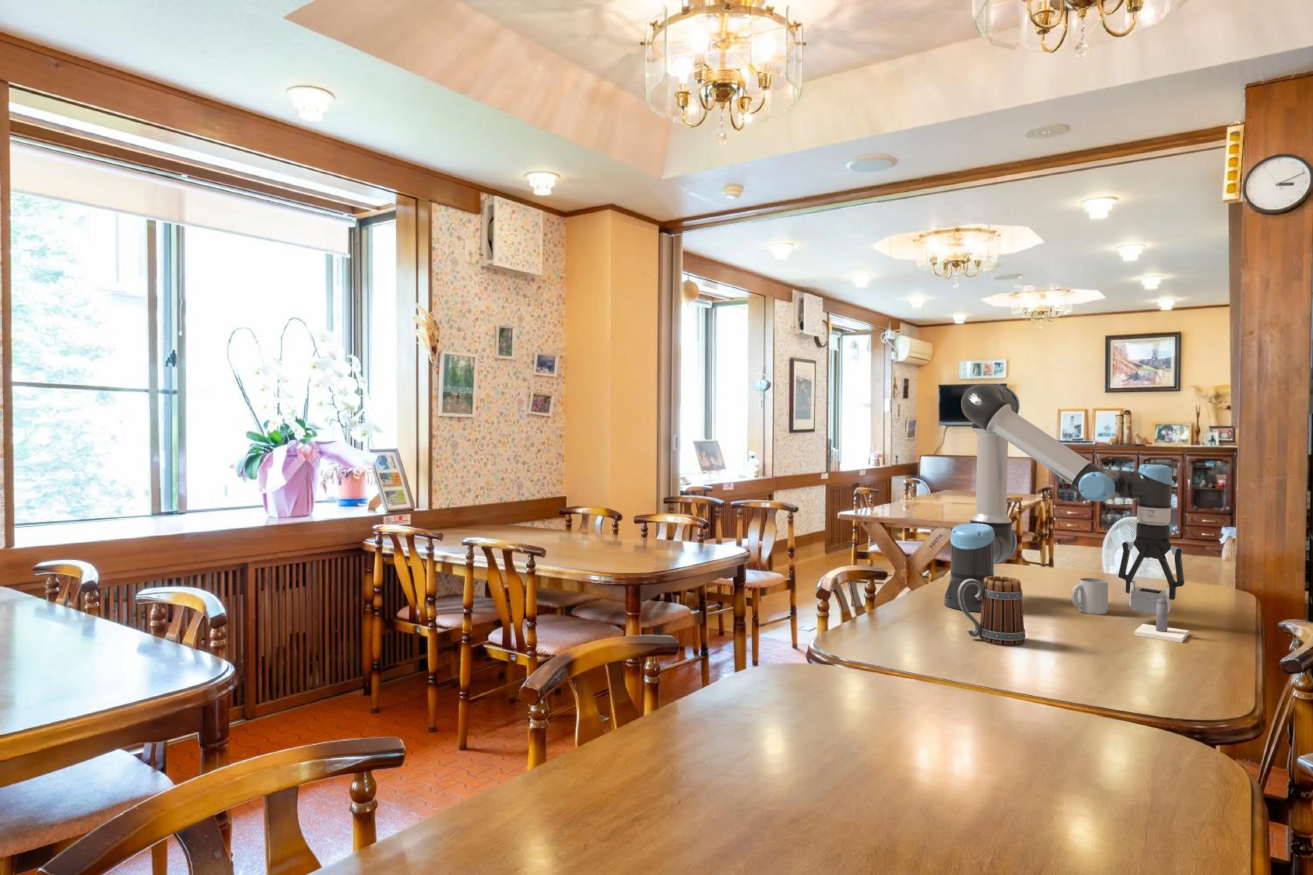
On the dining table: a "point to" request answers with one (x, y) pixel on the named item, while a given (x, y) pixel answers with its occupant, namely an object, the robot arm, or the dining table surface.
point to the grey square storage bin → (1146, 599)
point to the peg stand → (1161, 626)
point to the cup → (1091, 596)
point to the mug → (997, 610)
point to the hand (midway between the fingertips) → (1149, 608)
